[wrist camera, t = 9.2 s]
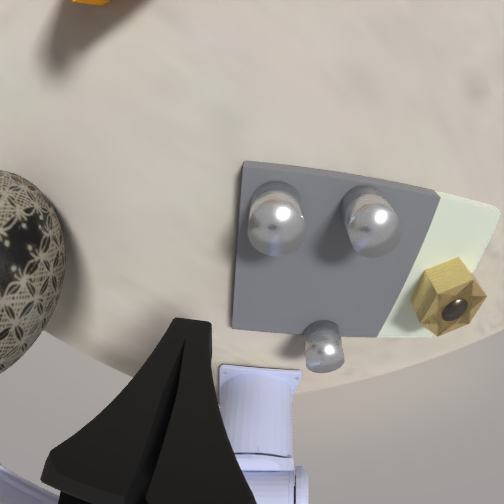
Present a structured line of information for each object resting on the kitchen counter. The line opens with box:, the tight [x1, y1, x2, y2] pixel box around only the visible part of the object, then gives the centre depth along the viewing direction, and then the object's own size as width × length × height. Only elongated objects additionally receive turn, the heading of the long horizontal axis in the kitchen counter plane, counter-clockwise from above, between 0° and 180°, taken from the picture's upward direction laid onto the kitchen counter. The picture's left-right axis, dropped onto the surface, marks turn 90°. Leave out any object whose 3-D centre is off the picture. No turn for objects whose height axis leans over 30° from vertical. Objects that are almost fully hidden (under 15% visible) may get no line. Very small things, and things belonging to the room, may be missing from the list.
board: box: [232, 161, 501, 338], centre depth 20 cm, size 13×18×1 cm
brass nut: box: [410, 257, 487, 336], centre depth 19 cm, size 6×5×3 cm
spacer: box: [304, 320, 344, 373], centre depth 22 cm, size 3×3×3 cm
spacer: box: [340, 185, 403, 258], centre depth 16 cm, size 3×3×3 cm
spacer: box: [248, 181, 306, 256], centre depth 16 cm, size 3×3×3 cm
